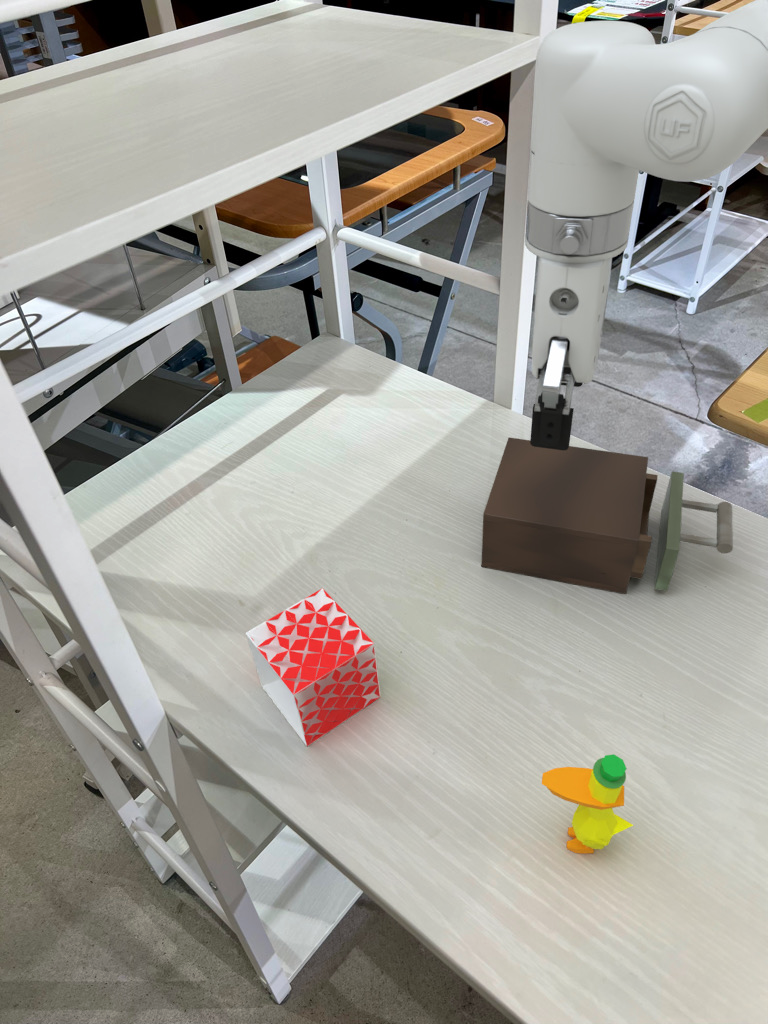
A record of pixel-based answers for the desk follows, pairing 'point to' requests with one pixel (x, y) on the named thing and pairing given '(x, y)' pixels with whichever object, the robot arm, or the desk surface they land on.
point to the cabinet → (565, 515)
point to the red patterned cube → (315, 665)
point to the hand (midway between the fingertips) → (557, 413)
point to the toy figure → (591, 801)
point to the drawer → (677, 529)
